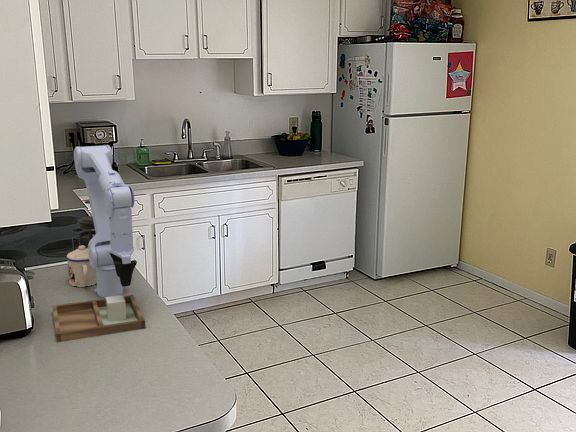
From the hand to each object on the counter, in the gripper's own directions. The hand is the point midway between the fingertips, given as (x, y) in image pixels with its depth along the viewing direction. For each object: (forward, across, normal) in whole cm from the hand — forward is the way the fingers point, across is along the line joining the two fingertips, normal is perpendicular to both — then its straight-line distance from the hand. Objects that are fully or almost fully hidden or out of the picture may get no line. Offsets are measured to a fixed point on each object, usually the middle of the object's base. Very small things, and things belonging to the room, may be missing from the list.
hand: (123, 280), depth 157 cm
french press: (+10, -38, -4) cm, 39 cm away
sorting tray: (+9, +4, -8) cm, 13 cm away
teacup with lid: (+10, -26, -8) cm, 29 cm away
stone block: (+8, +4, -3) cm, 10 cm away
